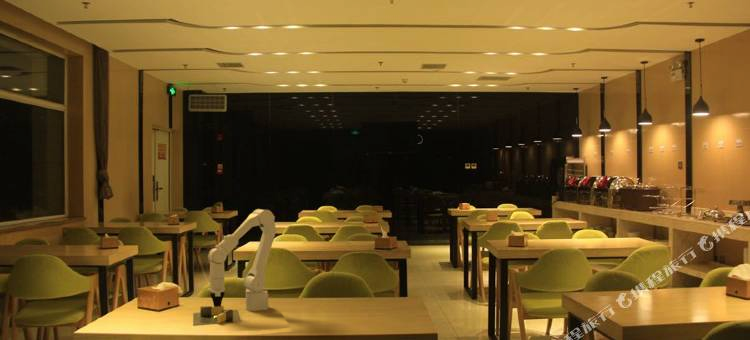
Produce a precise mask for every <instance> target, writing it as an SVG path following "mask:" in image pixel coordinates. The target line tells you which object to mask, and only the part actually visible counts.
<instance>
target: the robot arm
mask: <svg viewBox="0 0 750 340" xmlns="http://www.w3.org/2000/svg"><path fill="white" fill-rule="evenodd" d="M275 218H276V216H275V215H274V214H273V212H272V211H271V210H269V209H261V208H257V209H255V210H253V211H252V213H250V214H249V215H248V216H247V218H246V219H245V220H244V221H243V222H242V223H241V224H240V226H238V227H237V229H236V230H235V231H234V232H233V233H232V234H227V235H224V236H223V239H222V240H221V241H220V242H219V243H218V244H216V245H214V248H211V249H210V250H209V252H208V255H207V259H208V260H209V287H208V288H207V289H206V291H207V292H211V293H210V294H209V295H210V298H211V299H212V303H213V307H217V306H222V303H223V299H224V296H225V292H224V291H225V290H226V287H225V261H226V259H227V256H229V254H230V253H231V252H232V251H233V250H234V249H235V248H236V247H237V245H239V240H240V238H242V237H243V236H245V234H246V233H247V232H249V231H250V230H251V229H252V228H253V227H259V229H260V230H261V231H262V235H261V237H260V240H259V244H258V246H257V247H258V248H257V251H256V254H255V257H254V260H253V264H252V267H250V269H249V271H248V273H247V275H245V277H244V278H243V285H244V287H245V310H246V311H248V312H257V311H266V310H269V293H268V290H264V289H265V287H266V282H265V281H266V280H265V279H266V273H265V272H266V271H265V269H266V266H267V263H268V259H269V256H270V253H271V249H272V245H273V242H274V241H275V240H274V239H275V235H276V233H277V227H276V223H275Z"/></svg>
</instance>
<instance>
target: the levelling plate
mask: <svg viewBox="0 0 750 340" xmlns="http://www.w3.org/2000/svg"><path fill="white" fill-rule="evenodd" d="M232 310H233V319H231V320H226V321H224V322H222V323H217V315H219V314H214V315H209V316H201V315H200V312H199V311H198V312H193V313H192V326H195V327H196V326H207V325H208V326H209V325H219V324H220V325H222V324H232V323H234V324H235V323H242V319H241V317H240V316H241V315H240V313H239V311H238V310H239V309H232Z"/></svg>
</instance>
